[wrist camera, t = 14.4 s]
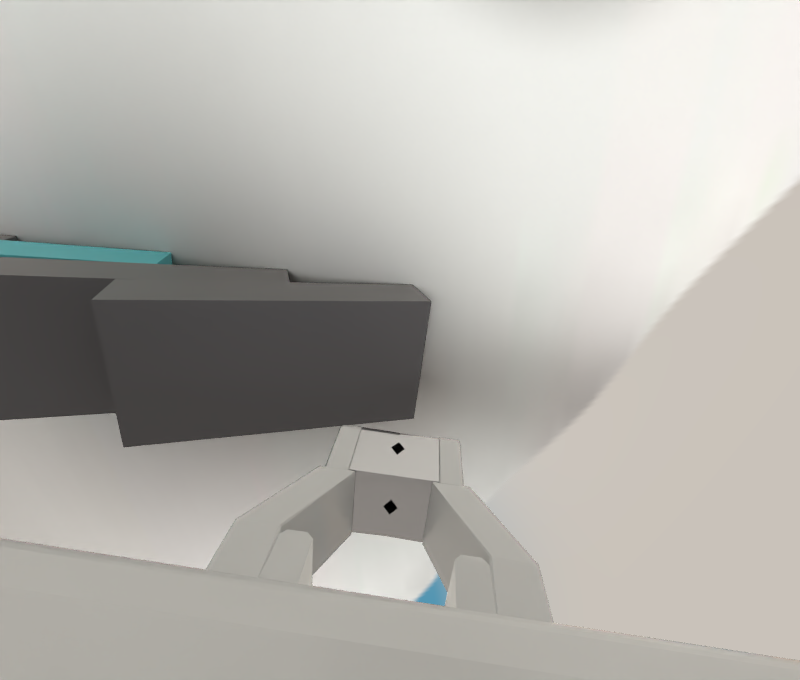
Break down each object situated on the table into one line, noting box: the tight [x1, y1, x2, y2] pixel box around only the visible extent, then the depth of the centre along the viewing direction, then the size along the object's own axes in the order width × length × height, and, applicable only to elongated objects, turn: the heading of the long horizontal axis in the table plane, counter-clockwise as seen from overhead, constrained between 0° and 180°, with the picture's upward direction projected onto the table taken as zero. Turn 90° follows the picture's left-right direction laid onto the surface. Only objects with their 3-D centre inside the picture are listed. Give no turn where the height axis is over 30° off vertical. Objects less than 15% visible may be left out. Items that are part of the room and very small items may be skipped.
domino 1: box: [0, 257, 290, 420], centre depth 14 cm, size 2×5×10 cm
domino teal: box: [0, 240, 172, 265], centre depth 15 cm, size 2×5×10 cm
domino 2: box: [92, 279, 431, 447], centre depth 14 cm, size 2×5×10 cm
